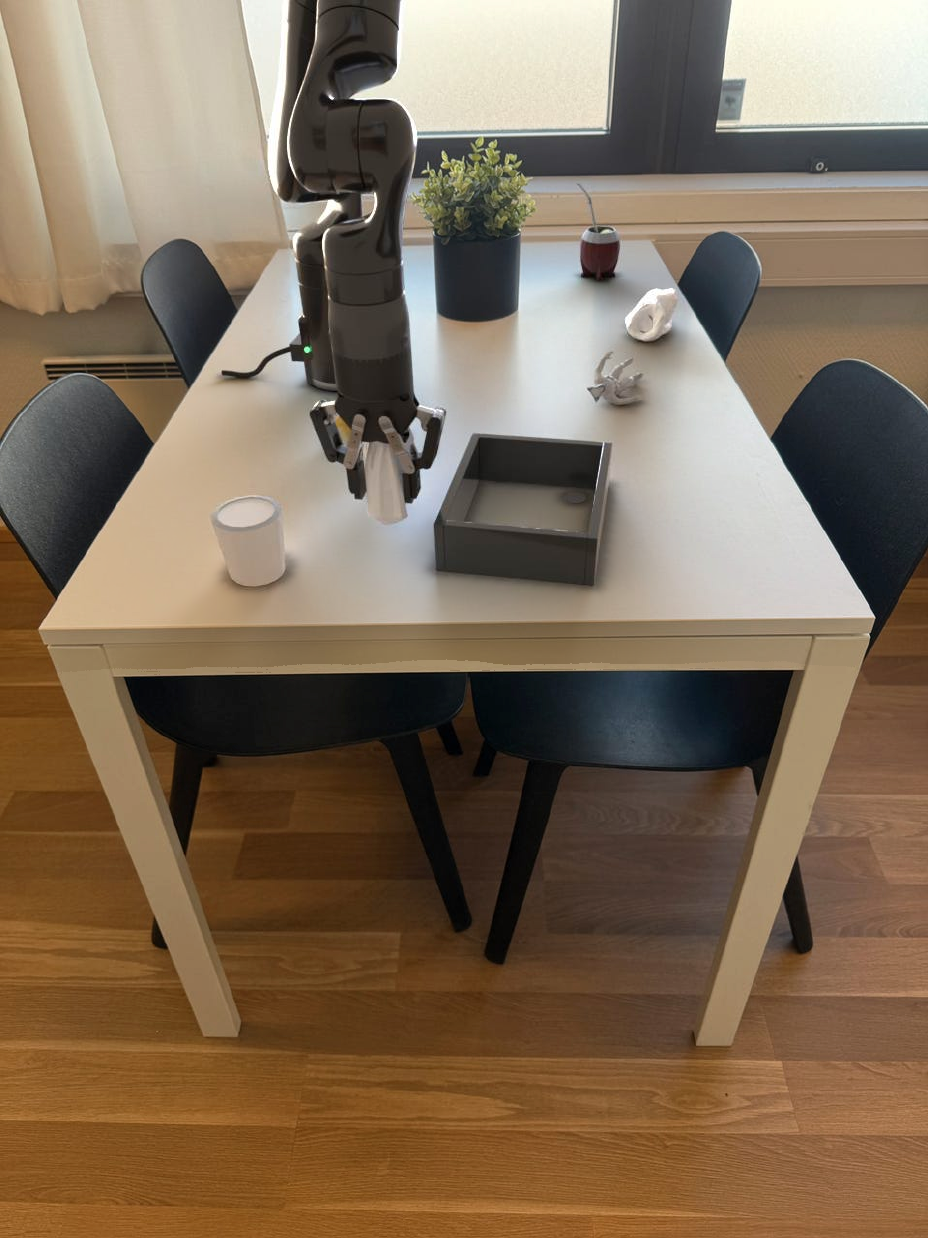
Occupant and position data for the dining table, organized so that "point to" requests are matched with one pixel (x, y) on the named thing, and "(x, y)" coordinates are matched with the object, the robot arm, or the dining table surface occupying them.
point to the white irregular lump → (652, 315)
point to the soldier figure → (613, 383)
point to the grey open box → (524, 546)
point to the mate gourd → (598, 248)
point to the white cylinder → (251, 539)
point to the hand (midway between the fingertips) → (385, 497)
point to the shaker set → (384, 483)
